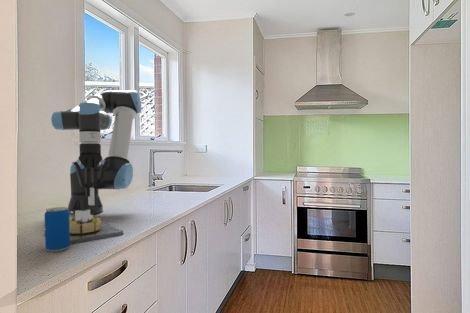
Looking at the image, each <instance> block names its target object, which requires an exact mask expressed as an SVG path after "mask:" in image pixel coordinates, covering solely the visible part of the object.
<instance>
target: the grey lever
mask: <svg viewBox="0 0 470 313" xmlns="http://www.w3.org/2000/svg"><path fill="white" fill-rule="evenodd" d="M101 222H102V219H101V218H100V217H98V216H97V217H95V216H94V214H91V222H90V223H83V224H80V220H75V212H74V211H71V212H69V224H70V233H87V232H93V231H97V230H99V229H101Z"/></svg>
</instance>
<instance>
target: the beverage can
mask: <svg viewBox="0 0 470 313" xmlns="http://www.w3.org/2000/svg"><path fill="white" fill-rule="evenodd" d="M67 208H68V207H64V206H63V207H62V206H61V207H60V206H57V207H51V208H47V209H45V213H44V239H45V244H44V245H45V250H46V251H48V252H51V253H56V252H57V253H58V252H63V251H66V250H68V248H69V247H70V246H71V244H70V224H69V211H68V210H67Z"/></svg>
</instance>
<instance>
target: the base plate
mask: <svg viewBox="0 0 470 313" xmlns="http://www.w3.org/2000/svg"><path fill="white" fill-rule="evenodd" d="M91 215H92V214H91ZM91 215H90V210H89V209H83V210H77V211H75V220H80V224H83V223H90V222H91ZM122 235H124V231H123V230H121V229H120V228H117V227H116V226H113V225H111V224H109V223H106V222H104V221H101V229H99V230H97V231H93V232H87V233H70V245H73V244H78V243H85V242H91V241H96V240H101V239H108V238H113V237H118V236H122Z"/></svg>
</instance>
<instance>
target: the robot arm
mask: <svg viewBox="0 0 470 313" xmlns="http://www.w3.org/2000/svg"><path fill="white" fill-rule="evenodd" d="M140 113H142V101H141V96H140V93H139V92H138V91H137V90H135V89H132V90H131V89H128V90H125V89H123V90H117V89H116V90H115V89H114V90H113V89H112V90H111V89H110V90H104V91H100V92H97V93H95V94H91V95H90V96H88V98H87V99H86V100H85V101H83V102H80V103H79V104H78V105H75V106H73V107H71V108H69V109H68V110H66V111H63V110H58V111H55V112H53V113H52V114H51V119H50V120H51V125H52V127H53V128H54V129H55V130H59V131H60V130H61V131H65V130H67V131H68V130H69V131H71V130H75V131H78V132H79V133H78V135H79V136H78V137H79V138H78V140H79V143H80V144H78V145H79V156H78V159H77V160H75V161H72V162H71V166H70V169H69V171H70V172H69V178H70V180H69V181H70V198H69V202H68V205H67V207H66V208H67V210H68V211H69V212H71V211H74V212H75V211H77V210H83V209H89V210H90V215H96V214H100V213H102V212H104V205H103V204H102V201H101V197H100V195H99V190H125V189H127V188H128V187H129V186H130V185H131V183H132V181H133V176H134V173H133V172H134V168H133V165H132V164H131V161H130V160H129V159H128V155H129V148H130V143H131V142H130V141H131V136H132V127H133V120H135V119H136V118H137V115H138V114H140ZM110 114H112V115H113V116H114V120H113V121H112V117H111V115H110ZM112 123H113V126H111V125H112ZM110 127H113V128H112V133H111V138H110V146H109V150H108V155H107V156H106V157H104V159H103V156H102V145H101V144H100V143H101V131H105V130H108V129H109V128H110Z"/></svg>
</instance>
